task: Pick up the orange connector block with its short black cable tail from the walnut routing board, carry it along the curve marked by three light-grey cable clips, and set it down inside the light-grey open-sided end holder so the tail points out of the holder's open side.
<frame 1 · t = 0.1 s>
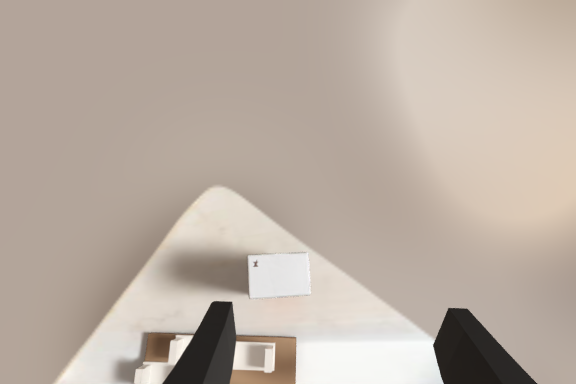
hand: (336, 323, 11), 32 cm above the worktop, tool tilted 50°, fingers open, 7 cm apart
clip c: (167, 376, 38), resting on routing board
skincare box: (281, 278, 43), on the worktop
clip a: (249, 355, 39), resting on routing board
clip b: (200, 349, 39), resting on routing board
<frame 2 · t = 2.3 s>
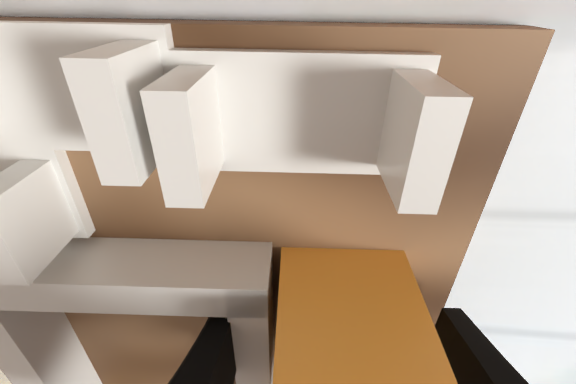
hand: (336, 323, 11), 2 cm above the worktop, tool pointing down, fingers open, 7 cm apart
end holder: (159, 336, 13), resting on routing board
routing board: (203, 257, 12), on the worktop
clip a: (301, 113, 8), resting on routing board
clip b: (61, 88, 8), resting on routing board
connector: (335, 300, 12), point 1 cm above the worktop, touching routing board
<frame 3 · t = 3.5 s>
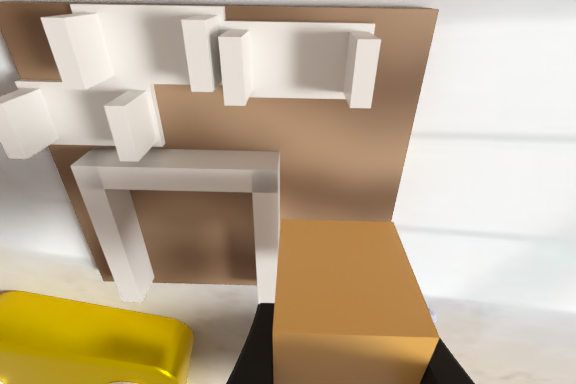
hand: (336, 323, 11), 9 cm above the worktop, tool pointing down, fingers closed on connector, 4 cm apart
clip c: (96, 112, 16), resting on routing board
element tile: (104, 353, 29), on the worktop
end holder: (199, 230, 19), resting on routing board
routing board: (232, 170, 18), on the worktop
clip a: (298, 60, 14), resting on routing board
clip b: (157, 45, 14), resting on routing board
connector: (330, 270, 13), point 7 cm above the worktop, touching gripper
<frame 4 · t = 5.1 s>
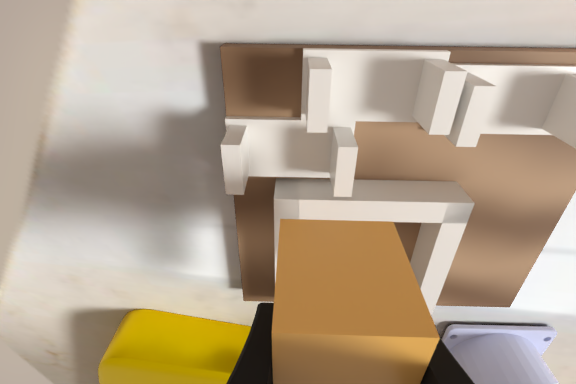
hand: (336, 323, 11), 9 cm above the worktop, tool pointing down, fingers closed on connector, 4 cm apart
clip c: (289, 146, 16), resting on routing board
element tile: (211, 367, 30), on the worktop
end holder: (354, 254, 20), resting on routing board
routing board: (393, 197, 19), on the worktop
clip a: (502, 99, 15), resting on routing board
clip b: (369, 85, 14), resting on routing board
connector: (330, 270, 13), point 7 cm above the worktop, touching gripper
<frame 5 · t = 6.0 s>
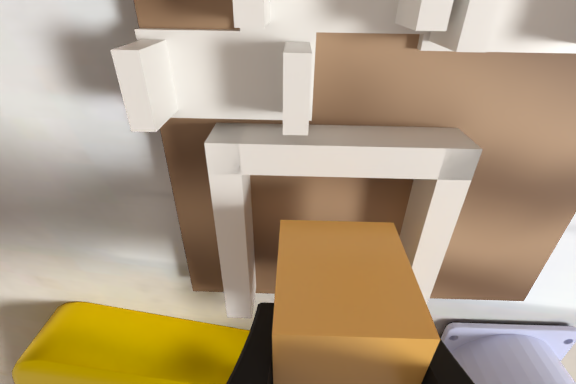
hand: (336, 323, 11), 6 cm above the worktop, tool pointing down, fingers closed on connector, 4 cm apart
clip c: (230, 75, 12), resting on routing board
element tile: (170, 372, 25), on the worktop
end holder: (326, 230, 15), resting on routing board
routing board: (376, 154, 14), on the worktop
connector: (331, 271, 13), point 4 cm above the worktop, touching gripper
when the fingers open (4 cm above the worktop, at t = 6.7 s): connector stays where it is, resting on routing board.
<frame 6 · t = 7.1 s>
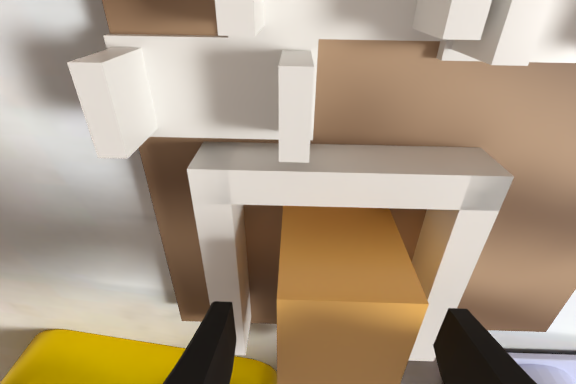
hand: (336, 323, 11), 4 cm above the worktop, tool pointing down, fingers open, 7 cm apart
clip c: (218, 88, 10), resting on routing board
end holder: (329, 258, 14), resting on routing board
routing board: (385, 175, 13), on the worktop
clip a: (563, 0, 9), resting on routing board
connector: (330, 254, 14), point 1 cm above the worktop, touching routing board
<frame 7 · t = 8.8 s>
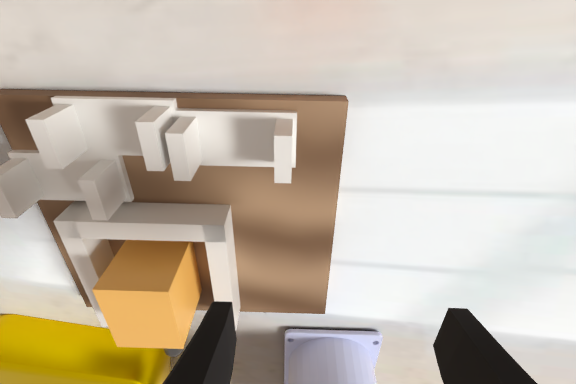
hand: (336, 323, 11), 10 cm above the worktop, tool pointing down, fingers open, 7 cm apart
clip c: (75, 174, 19), resting on routing board
element tile: (93, 367, 32), on the worktop
end holder: (167, 266, 22), resting on routing board
routing board: (193, 216, 21), on the worktop
clip a: (239, 137, 17), resting on routing board
clip b: (123, 125, 17), resting on routing board
connector: (167, 264, 22), point 1 cm above the worktop, touching routing board
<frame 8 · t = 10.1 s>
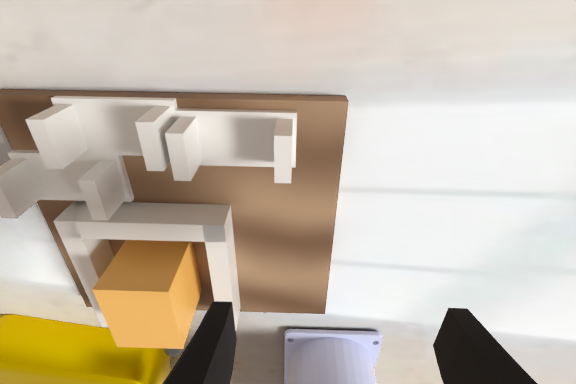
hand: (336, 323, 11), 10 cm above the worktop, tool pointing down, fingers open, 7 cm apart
clip c: (75, 174, 19), resting on routing board
element tile: (94, 367, 32), on the worktop
end holder: (167, 266, 22), resting on routing board
routing board: (193, 216, 21), on the worktop
clip a: (239, 137, 17), resting on routing board
clip b: (123, 125, 17), resting on routing board
connector: (167, 264, 22), point 1 cm above the worktop, touching routing board
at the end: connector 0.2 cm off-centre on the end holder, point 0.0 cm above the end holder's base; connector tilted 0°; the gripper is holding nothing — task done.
